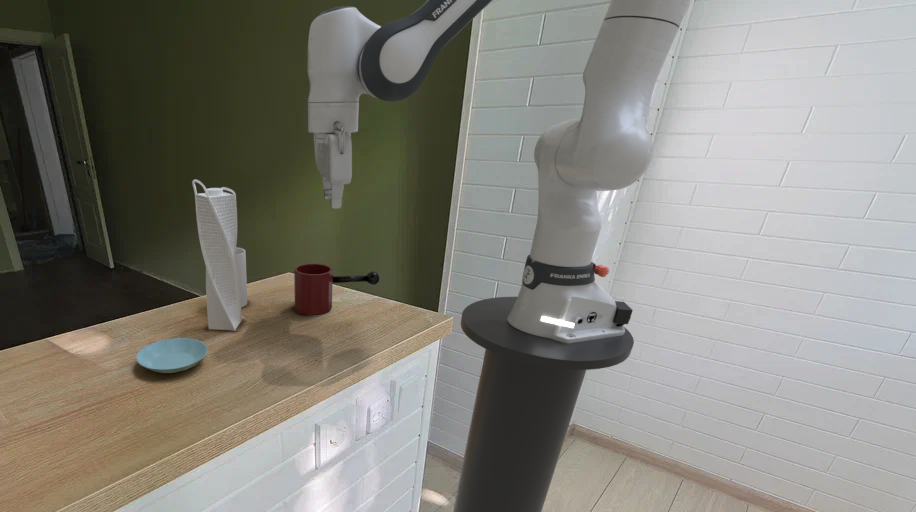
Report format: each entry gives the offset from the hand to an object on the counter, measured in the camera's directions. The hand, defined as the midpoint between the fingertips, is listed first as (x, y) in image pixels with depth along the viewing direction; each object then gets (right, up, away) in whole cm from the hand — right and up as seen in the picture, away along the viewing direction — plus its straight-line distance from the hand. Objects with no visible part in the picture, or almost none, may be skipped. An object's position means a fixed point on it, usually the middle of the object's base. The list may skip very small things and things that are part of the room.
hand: (332, 203), depth 91 cm
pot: (+2, -18, +16) cm, 24 cm away
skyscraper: (-22, -23, +7) cm, 32 cm away
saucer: (-28, -31, -7) cm, 42 cm away
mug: (-22, -18, +16) cm, 32 cm away
